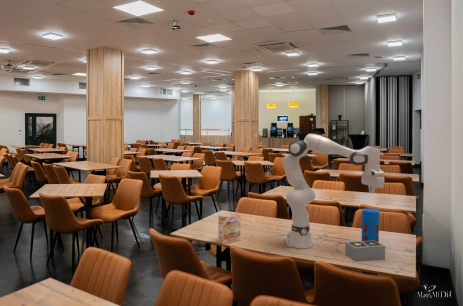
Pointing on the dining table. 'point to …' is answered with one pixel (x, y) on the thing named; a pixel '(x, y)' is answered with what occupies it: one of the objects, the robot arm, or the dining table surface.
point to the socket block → (365, 250)
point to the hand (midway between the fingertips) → (371, 193)
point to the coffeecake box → (229, 228)
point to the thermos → (370, 225)
